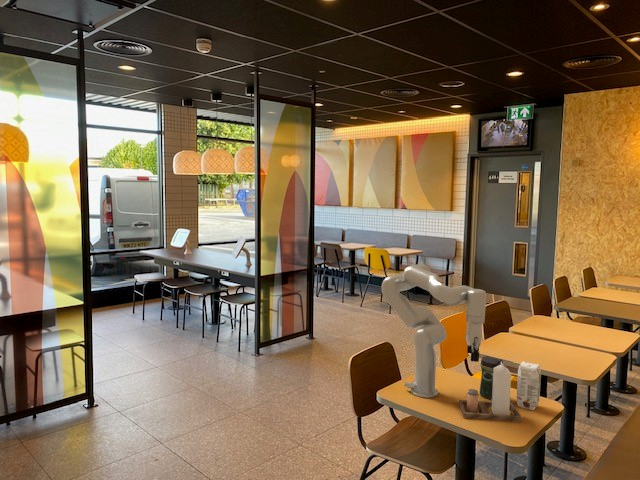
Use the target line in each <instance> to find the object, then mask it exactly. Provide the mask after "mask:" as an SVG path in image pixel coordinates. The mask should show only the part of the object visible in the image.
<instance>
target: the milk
mask: <svg viewBox="0 0 640 480" xmlns="http://www.w3.org/2000/svg"><path fill="white" fill-rule="evenodd" d="M511 383H512V373H511V372H510V370H509V368H507V367H506V366H505V365H504V362H503V363H502V362H501V365H499V366H497V367H495V368H494V369H493V390H492V400H491V402H492V407H491V412H492V414H497V415H510V409H509V407H510V403H511V385H512V384H511Z"/></svg>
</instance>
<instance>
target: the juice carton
mask: <svg viewBox="0 0 640 480" xmlns="http://www.w3.org/2000/svg"><path fill="white" fill-rule="evenodd" d="M541 378H542V371H541V365H540V364H538V363H537V364H536V363H530V362H527V361H521V363H520V364H519V366H518V368H517V382H516V383H517V384H516V387H517V388H516V403H517V407H518V408H522V409H526V410H529V411H535V409H536V408H537V407H538V406H539V402H540V397H541V396H540V395H541V393H540V392H541Z"/></svg>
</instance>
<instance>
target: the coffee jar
mask: <svg viewBox="0 0 640 480" xmlns="http://www.w3.org/2000/svg"><path fill="white" fill-rule="evenodd" d="M501 362H502V363H503V364H504V361H503V359H501V358H497V357H494V356H489V355H485V356H484V355H483V356H482V358H481V360H480V368H481V378H480V383H479V384H480V387H479V396H480V397H483V398H485V399H488V400H491V401H492V390H493V369H494V368H495V367H497V366H499V365H501Z"/></svg>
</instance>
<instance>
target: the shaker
mask: <svg viewBox="0 0 640 480" xmlns="http://www.w3.org/2000/svg"><path fill="white" fill-rule="evenodd" d="M466 393H467V394H466V395H467V396H466V400H467V406H466V412H467V413H478V412H479V408H478V401H479V396H480V393H479V391H478V390H477V389H474V388H471V389H468V390H467V392H466Z"/></svg>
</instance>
